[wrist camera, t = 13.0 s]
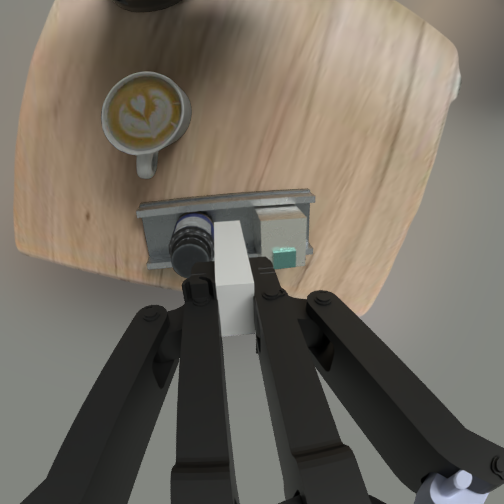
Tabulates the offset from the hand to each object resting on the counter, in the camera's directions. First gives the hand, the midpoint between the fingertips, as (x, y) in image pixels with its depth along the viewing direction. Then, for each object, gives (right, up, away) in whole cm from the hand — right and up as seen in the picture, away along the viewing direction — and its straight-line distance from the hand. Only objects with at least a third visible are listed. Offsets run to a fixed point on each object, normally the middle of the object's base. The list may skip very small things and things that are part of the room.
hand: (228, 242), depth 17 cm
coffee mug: (-13, +18, +20) cm, 29 cm away
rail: (-3, +4, +28) cm, 28 cm away
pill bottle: (-7, +3, +26) cm, 28 cm away
